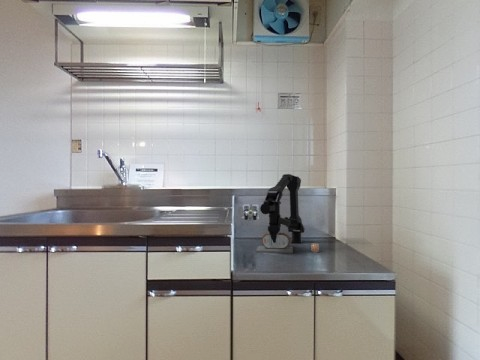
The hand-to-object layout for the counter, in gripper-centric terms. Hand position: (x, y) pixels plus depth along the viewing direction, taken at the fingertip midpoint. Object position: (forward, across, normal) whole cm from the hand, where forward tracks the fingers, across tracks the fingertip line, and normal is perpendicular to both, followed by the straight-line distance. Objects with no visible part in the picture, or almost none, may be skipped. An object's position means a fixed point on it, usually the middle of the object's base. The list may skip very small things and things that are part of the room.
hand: (274, 241), depth 176 cm
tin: (+4, 0, 0) cm, 4 cm away
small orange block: (+5, -1, -21) cm, 22 cm away
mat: (+4, 0, 0) cm, 4 cm away
